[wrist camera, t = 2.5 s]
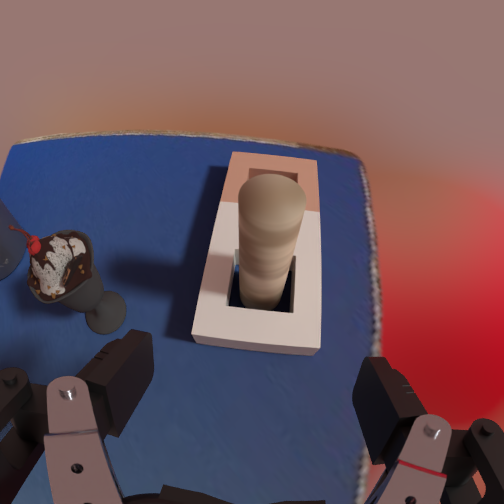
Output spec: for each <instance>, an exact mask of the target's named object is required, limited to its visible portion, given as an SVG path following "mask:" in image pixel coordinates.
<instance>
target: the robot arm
mask: <svg viewBox="0 0 504 504" xmlns="http://www.w3.org/2000/svg"><path fill="white" fill-rule="evenodd" d="M9 225H12V226H14V228H16V229H22V227H21V226H20V225H19V223H18V222H17V221H16V219H15V218H14V217H13V215H12V214H11V213H10V211H9V210H8V209H7V207H6V206H5V205H4V203H3V202H2V200H1V199H0V280H2V279H3V278H5V277H7V276H8V275H9V274H10V273H11V272H12V271H13V270H14V269H15V268H16V267H17V265H18V264H19V262H20V260H21V259H22V257H23V254H24V252H25V248H26V243H27V238H26V237H25V236H24V234H22V233H21V232H20V231H16V230H10V229H9ZM22 230H23V229H22ZM153 373H154V359H153V344H152V335H151V333H148V332H143V331H139V330H134V329H131V330H130V331H129V332H128V333H127V334H126V335H125V336H124V337H123V338H122V339H116V340H114V341H111V342H109V343H107V344H106V345H105V346H104V347H103V348H102V349H101V350H100V352H98V353H97V354H96V355H95V356H94V358H92V359H91V361H90V362H89V363H88V364H87V365H86V366H85V367H84V368H83V369H82V370H81V371H80V372H79V373H78V374H77V375H76V376H75V377H73V376H64V377H59V378H57V379H55V380H53V381H52V382H51V383H50V384H49V385H48V386H44V385H38V384H32V383H30V382H29V379H28V376H27V374H26V372H25V371H24V370H22V369H19V368H14V367H11V368H5V369H3V370H1V371H0V432H1V431H2V429H3V428H4V427H5V426H6V425H7V423H8V422H9V421H11V423H12V425H13V427H12V428H11V430H10V431H9V432H8V433H7V434H6V436H5V437H4V438H3V439H2V441H1V442H0V504H11V503H12V501H13V500H14V498H15V496H16V495H17V493H18V491H19V490H20V488H21V487H22V485H23V483H24V482H25V480H26V478H27V477H28V475H29V474H30V472H31V471H32V469H33V467H34V466H35V464H36V463H37V461H38V460H39V458H40V457H41V455H42V454H43V452H44V451H45V455H46V462H47V469H48V475H49V481H50V486H51V492H52V496H53V501H54V504H232V503H229V502H226V501H223V500H220V499H218V498H215V497H212V496H209V495H207V494H204V493H200V492H195V491H190V490H185V489H180V488H176V487H171V486H167V485H163V487H162V490H161V493H160V494H159V493H149V494H138V495H132V496H128V497H124V494H123V492H122V490H121V487H120V485H119V483H118V480H117V478H116V475H115V472H114V469H113V467H112V464H111V461H110V458H109V455H108V452H107V449H106V446H105V443H104V439H105V437H106V435H107V434H109V435H112V436H115V437H118V438H119V436H120V434H121V432H122V431H123V429H124V427H125V425H126V424H127V422H128V420H129V419H130V417H131V415H132V413H133V412H134V410H135V408H136V406H137V405H138V403H139V401H140V400H141V398H142V396H143V394H144V393H145V391H146V389H147V388H148V386H149V384H150V383H151V381H152V378H153ZM352 401H353V406H354V408H355V411H356V414H357V417H358V420H359V423H360V426H361V430H362V433H363V436H364V439H365V442H366V445H367V448H368V451H369V455H370V458H371V461H372V464H373V465H377V464H385V466H386V469H385V471H384V472H383V473H382V475H381V477H380V479H379V480H378V482H377V484H376V486H375V487H374V489H373V490H372V492H371V494H370V495H369V497H368V498H367V500H366V502H365V503H364V504H439V501H440V502H441V504H504V432H503V431H502V429H501V428H500V427H499V425H498V424H497V423H495V422H494V421H492V420H489V419H484V418H482V419H477V420H475V421H474V422H473V423H472V425H471V427H470V428H469V430H453V429H451V427H450V425H449V423H448V422H447V421H446V420H444V419H443V418H441V417H439V416H436V415H431V414H428V413H427V411H426V410H425V408H424V407H423V405H422V403H421V402H420V400H419V398H418V397H417V395H416V394H415V393H414V390H413V389H412V387H411V386H410V384H409V382H408V381H407V379H406V378H405V377H404V376H403V375H402V374H401V373H400V372H398V371H397V370H396V369H392V368H391V366H390V364H389V363H388V361H387V360H386V358H385V357H365V358H364V360H363V362H362V365H361V368H360V371H359V374H358V377H357V380H356V383H355V386H354V389H353V394H352ZM477 470H478V471H479V472H480V475H481V476H482V479H483V481H484V483H485V485H486V492H485V495H484V497H483V498H481V495H480V493H479V491H478V489H477V486H476V484H475V482H474V480H473V478H472V476H473V475H474V474H475V473H476V472H477ZM271 504H326V503H325V500H321V501H284V502H278V503H271Z"/></svg>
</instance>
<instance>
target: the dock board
mask: <svg viewBox="0 0 504 504" xmlns="http://www.w3.org/2000/svg"><path fill="white" fill-rule="evenodd" d="M262 174H277V175H282V176H285V177H288V178H290V179H292V180H293V181H295V182H296V183H297V184H299V185H300V187H301V188H302V189H303V191H304V192H305V195H306V207H305V211H304V215H303V219H302V223H301V227H300V231H299V234H298V238H297V242H296V246H295V249H294V253H293V257H292V260H291V264H290V268H289V270H290V271H292V275H291V294H290V311H289V313H285V312H274V311H265V310H256V309H247V308H238V307H230V306H229V301H230V295H231V289H232V282H233V276H234V270H235V265H239V227H238V194H239V190H240V188H241V186H242V185H243V184H244V183H245V182H246V181H247V180H249V179H250V178H252V177H255V176H258V175H262ZM191 334H192V336H193V338H194V340H195V341H196V343H199V344H206V345H212V346H220V347H227V348H235V349H243V350H251V351H261V352H271V353H282V354H294V355H308V356H313V355H314V354H315V353H316V352H317V351H318V350H319V349H320V339H321V235H320V209H319V189H318V173H317V161H315V160H308V159H300V158H292V157H284V156H275V155H265V154H255V153H243V152H233V153H232V156H231V160H230V164H229V168H228V172H227V176H226V180H225V184H224V188H223V192H222V196H221V200H220V204H219V208H218V212H217V217H216V221H215V225H214V229H213V234H212V238H211V242H210V247H209V251H208V256H207V260H206V265H205V269H204V274H203V279H202V283H201V288H200V293H199V298H198V303H197V308H196V313H195V318H194V323H193V328H192V333H191Z"/></svg>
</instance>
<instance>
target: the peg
mask: <svg viewBox="0 0 504 504" xmlns="http://www.w3.org/2000/svg"><path fill="white" fill-rule="evenodd" d="M305 207H306V195H305V192H304V191H303V189H302V188H301V187H300V185H299V184H297V183H296V182H295V181H293V180H292V179H290V178H288V177H285V176H282V175H277V174H262V175H258V176H255V177H252V178H250V179H249V180H247V181H246V182H245V183H244V184H243V185H242V186H241V188H240V190H239V194H238V227H239V288H240V299H241V302H242V303H243V305H244V306H245V307H246V308H247V309H256V310H265V311H271V310H273V309H274V308H275V307H277V305H278V304H279V302H280V300H281V296H282V293H283V289H284V286H285V282H286V279H287V275H288V271H289V268H290V264H291V260H292V257H293V253H294V249H295V246H296V242H297V238H298V234H299V231H300V227H301V223H302V219H303V215H304V211H305Z"/></svg>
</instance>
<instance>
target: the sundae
mask: <svg viewBox="0 0 504 504" xmlns="http://www.w3.org/2000/svg"><path fill="white" fill-rule="evenodd" d="M9 229H10V230H16V231H20V232H21V233H22V234H24V236H25V237H26V238H27V244H26V245H27V248H28V252H29V253H30V264H31V265H30V267H29V270H28V280H27V284H28V286H29V288H30V290H31V292H32V293H33V295H34V296H35V297H36V298H37V299H38V300H39V301H41V302H43V303H46V304H50V303H54V302H60V303H61V304H63V305H65V306H67V307H68V308H71V309H73V310H75V311H78V312H81V313H83V312H86V320H87V323H88V326H89V327H90V328H91V329H92V330H93V331H94V332H96V333H98V334H110V333H112V332H114V331H116V330H117V329H118V328H119V327H120V326H121V325H122V323H123V321H124V319H125V316H126V304H125V302H124V299H123V298H122V297H121V296H120V295H119V294H118V293H115V292H112V291H104V287H103V283H102V280H101V278H100V275H99V273H98V271H97V269H96V267H95V265H94V251H93V246H92V243H91V240H90V238H89V237H88V236H87V235H86V234H85V233H83V232H80V231H75V230H62V231H58V232H56V233H54V234H52V235H51V236H47V237H44V238H42V239H40V240H39V238H38V237H37V236H30V235H29V234H28V233H27V232H26V231H24V230H22V229H16V228H14V226H12V225H9ZM28 237H29V238H28Z"/></svg>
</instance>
